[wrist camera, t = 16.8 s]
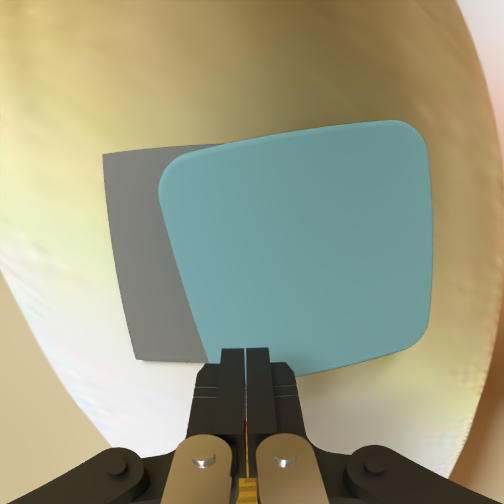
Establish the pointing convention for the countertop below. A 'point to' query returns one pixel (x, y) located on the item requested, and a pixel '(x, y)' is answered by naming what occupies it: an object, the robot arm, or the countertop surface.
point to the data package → (306, 242)
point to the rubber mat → (149, 257)
